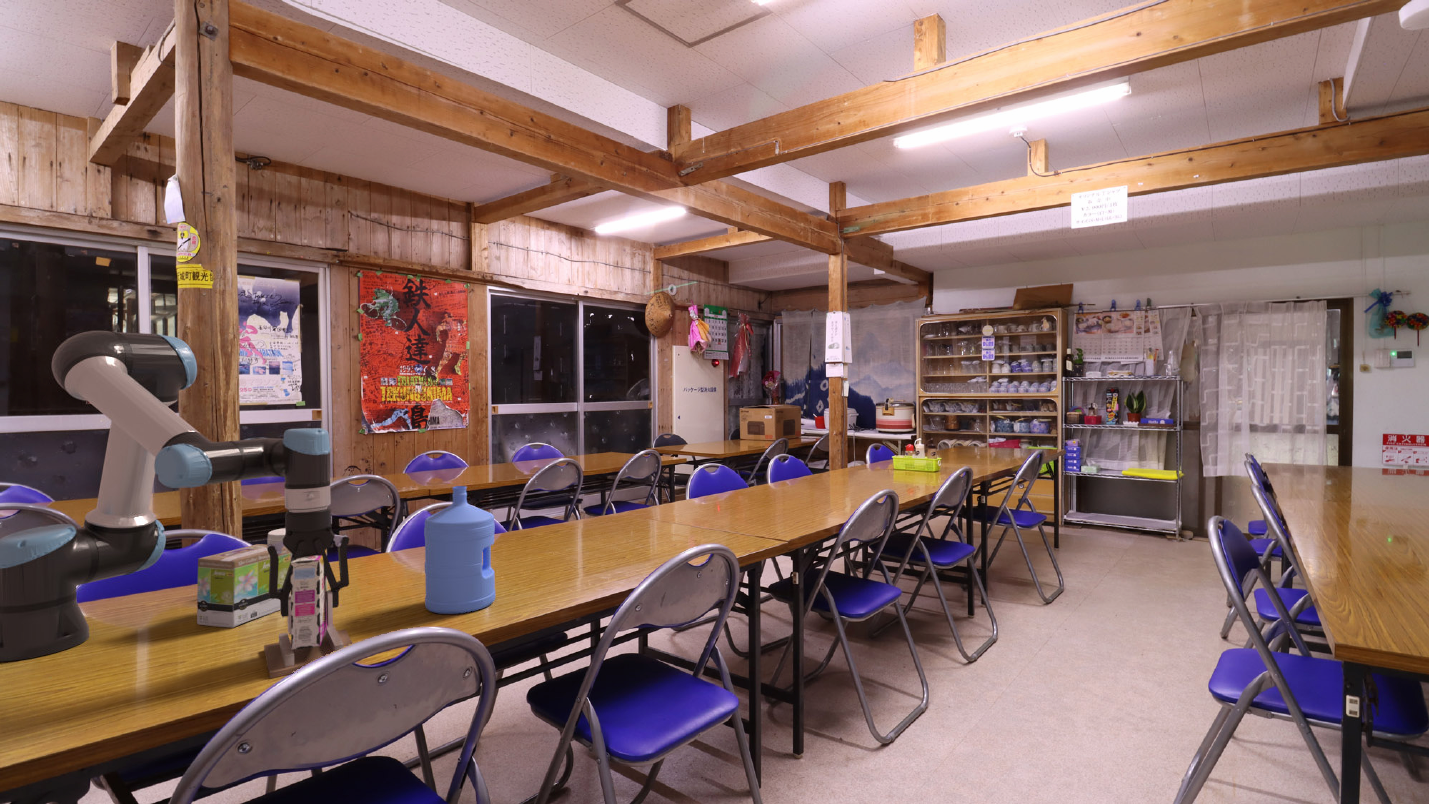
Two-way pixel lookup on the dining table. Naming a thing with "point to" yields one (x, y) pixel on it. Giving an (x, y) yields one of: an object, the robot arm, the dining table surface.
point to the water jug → (459, 557)
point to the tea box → (237, 586)
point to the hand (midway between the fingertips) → (310, 628)
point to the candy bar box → (308, 602)
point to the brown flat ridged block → (301, 652)
